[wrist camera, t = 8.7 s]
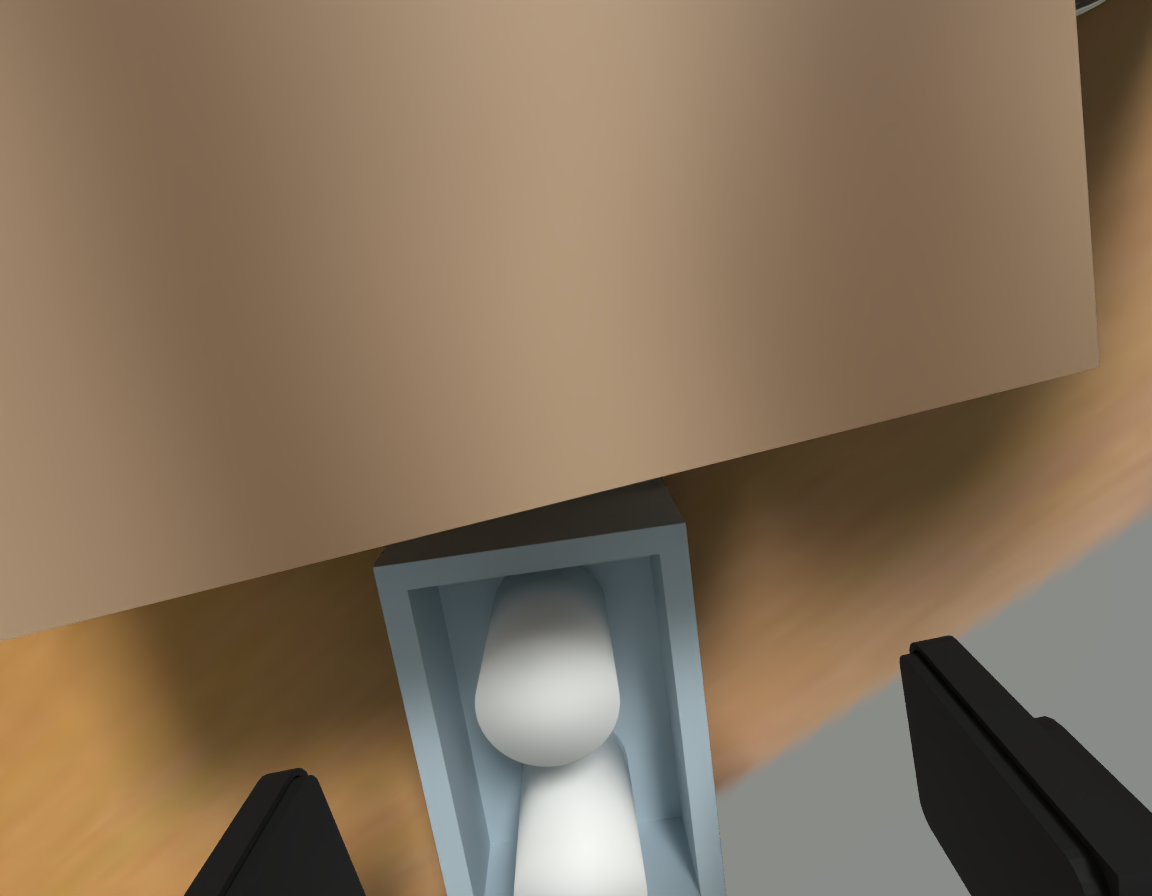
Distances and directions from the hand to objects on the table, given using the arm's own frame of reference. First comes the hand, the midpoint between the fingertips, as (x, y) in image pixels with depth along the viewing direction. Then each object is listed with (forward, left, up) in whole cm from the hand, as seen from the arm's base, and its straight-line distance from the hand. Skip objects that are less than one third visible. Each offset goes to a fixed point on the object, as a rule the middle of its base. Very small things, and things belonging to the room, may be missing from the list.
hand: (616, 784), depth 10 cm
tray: (+1, +2, -8) cm, 8 cm away
